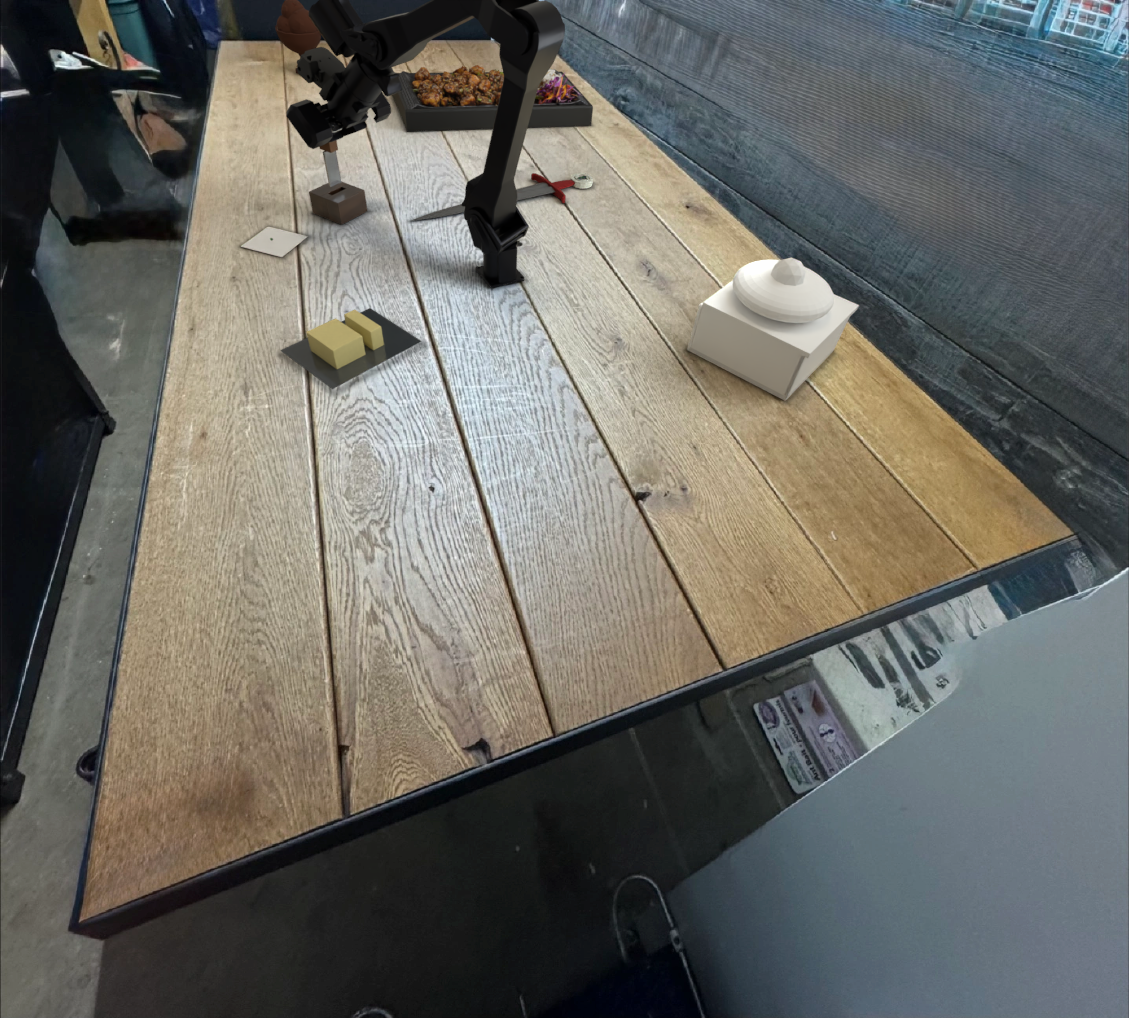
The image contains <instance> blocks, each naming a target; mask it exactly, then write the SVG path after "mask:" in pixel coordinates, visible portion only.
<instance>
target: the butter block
mask: <svg viewBox="0 0 1129 1018" xmlns="http://www.w3.org/2000/svg"><path fill="white" fill-rule="evenodd" d="M305 333H306V338H308V341H309V345H310V349H311V351H312V352H314V353H315V354H316V355H318V356H319V357H320V358H322V359H323V360H325V361H326V362H327V363H329V364H330V365H332V366H333V367H334V368H336V369H339V368H341V367H343V366H345V365H347V364H348V363H350V362H352V361H354V360H356V359H358V358H360V357H362V356H364V355H365V349H364V343H363V338H362V336H361V335H360V334H358V333H357V332H355V331H354V330H352V329H351V328H349V327H348V326H346V325H345V324H343V323H342V322H341V320H339V319H337V318H333V319H331V320H328V321H326V322H324V323H322V324H320V325H317V326H316V327H314V328H312V329H309V330H308V331H306V332H305Z"/></svg>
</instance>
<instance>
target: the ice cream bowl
mask: <svg viewBox="0 0 1129 1018" xmlns="http://www.w3.org/2000/svg"><path fill="white" fill-rule="evenodd" d="M280 10H281V13H280V15H279V16H278V18H277V19H276V25H274V28H275V32H276V34H277V35H276V36H277V37H278V39H279V40H280V42H281V44H283V46H285V47H286V48H287V49H288V50H290V51H291V52H292V53H293V52H294V53H296V54H298V56H299V57H300V56H301V55H302V54H304V53H305V51H308V50H311V49H315V48H318V46H319V44H320V43H321V39H322V35H321V34H320V32H319V31H318V29H317V28H316V26H315V25H314V23H313V22H312V20H311V19H310V17H309V15H308V14H309V9H306V8H305V7H304V5H303V4H302V3H301V2H300V1H299V0H284V1H283V2H282V4H281V8H280ZM294 71H295V74H297V75H299V74H298V72H297V67H295V70H294Z"/></svg>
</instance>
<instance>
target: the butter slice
mask: <svg viewBox="0 0 1129 1018" xmlns="http://www.w3.org/2000/svg"><path fill="white" fill-rule="evenodd" d="M343 317H344V320H345V322H346V326H348V327H349V328H351V329H352V330H354V331H355V332H357V333H358V334H360V335H361V336H362V338H363V343H364V344H365V345H366V346H368V347H369V348H371V349H372V350H375V349H377V348H379V347H381V346H383V345H384V342H383V335H382V329H381V326H379V325H378V324H376V323H375V322H373V321H372V320H370V319H369V318H367V317H366V316H364V315H363V314H361V313H360V311H358V310H356V309H352V310H351V311H348V312H346V313H344V315H343Z"/></svg>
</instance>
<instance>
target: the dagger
mask: <svg viewBox="0 0 1129 1018" xmlns="http://www.w3.org/2000/svg"><path fill="white" fill-rule="evenodd" d="M530 180H531V181H535V182H537V183H534V184H531V185H527V186H524V187H520V188H516V190H517V201H520V200H525V199H530V198H535V197H540V196H544V195H548V194H551V195H553V196H555V197H556V198H558V199H559V200H561V203H562V204H565V203H566V199H567V198H566V194H565V193H564V191H563V189H568V188H570V187H573V188H576V189H581V190H582V189H590V188H591V187H592V186H593V182H594V177H593V176H592V175H591V174H588V173H586V172H575V173H571V175H570V179H562V180H556V181H552V182H551V181H550V180H548V179H547V178H546V177H544V176H543V175H540V174H538V173H536V172H533V173H531V174H530ZM461 204H462V203H460V204H455V205H453V206H450V207H446V208H442V209H439V210H436V211H433V212H430V213H427V214H424V215H421V216H418V217H416V218H413V219H411V220H410V222H413V221H421V220H428V219H429V220H430V219H434V218H441V217H446V216H451V215H452V216H453V215H457V214H461V213H464V208H465V206H462V205H461Z"/></svg>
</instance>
